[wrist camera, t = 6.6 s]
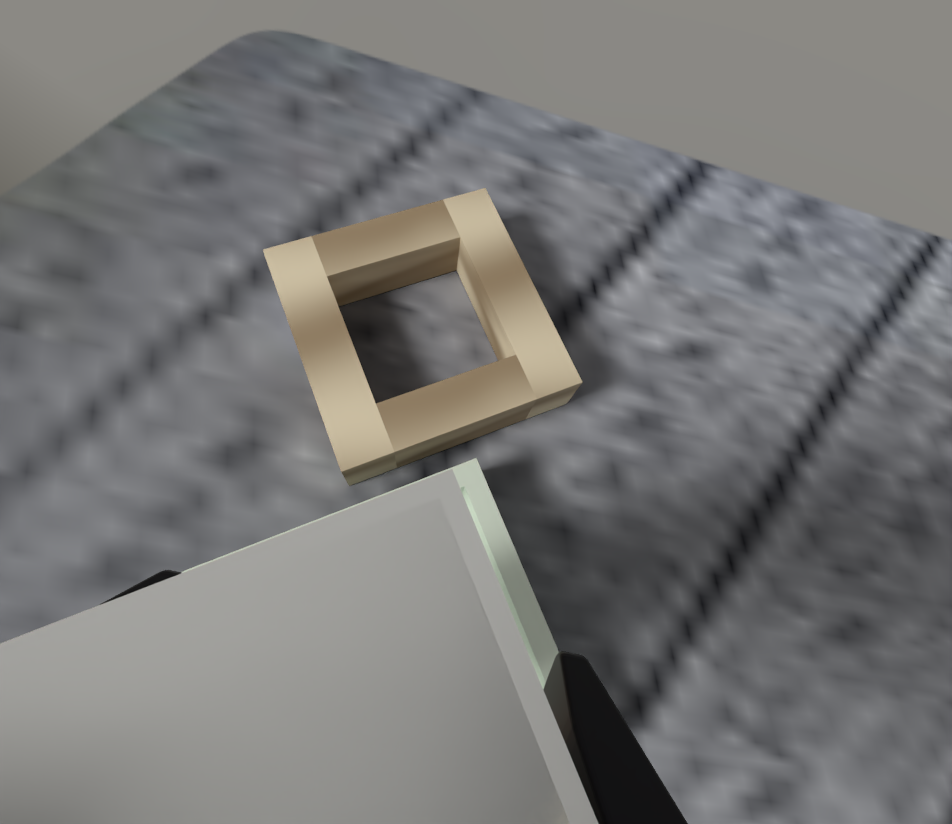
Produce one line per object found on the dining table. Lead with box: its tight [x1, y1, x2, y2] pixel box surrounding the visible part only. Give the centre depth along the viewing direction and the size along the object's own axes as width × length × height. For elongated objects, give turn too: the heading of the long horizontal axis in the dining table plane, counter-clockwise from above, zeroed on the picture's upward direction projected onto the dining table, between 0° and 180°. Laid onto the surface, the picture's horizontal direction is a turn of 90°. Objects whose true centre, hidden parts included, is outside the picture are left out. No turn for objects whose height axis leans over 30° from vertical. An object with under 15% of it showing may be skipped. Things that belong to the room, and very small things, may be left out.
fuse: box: [0, 469, 598, 824], centre depth 9 cm, size 4×4×11 cm
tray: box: [181, 458, 559, 689], centre depth 19 cm, size 11×11×2 cm
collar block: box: [263, 188, 582, 486], centre depth 24 cm, size 10×10×2 cm
